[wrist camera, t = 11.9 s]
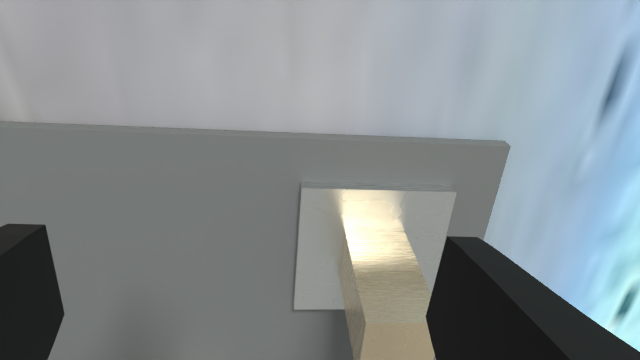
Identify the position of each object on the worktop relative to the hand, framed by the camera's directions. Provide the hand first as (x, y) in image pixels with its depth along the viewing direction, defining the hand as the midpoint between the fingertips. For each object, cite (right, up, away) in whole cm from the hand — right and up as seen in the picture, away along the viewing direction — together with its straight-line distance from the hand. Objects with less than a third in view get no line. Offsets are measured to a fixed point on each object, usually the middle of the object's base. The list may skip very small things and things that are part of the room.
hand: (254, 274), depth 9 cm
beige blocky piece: (+3, -1, +11) cm, 11 cm away
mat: (-2, -5, +13) cm, 14 cm away
